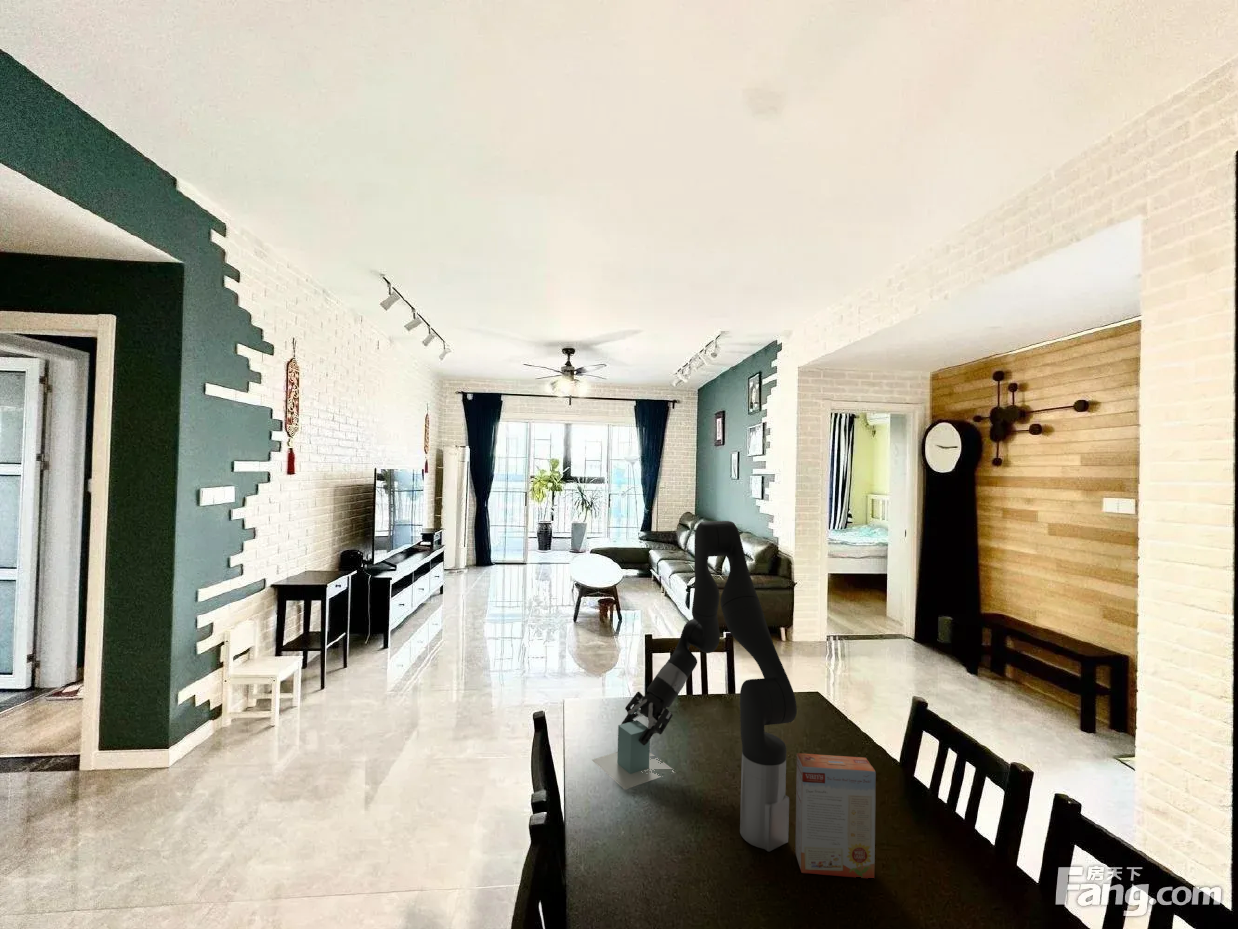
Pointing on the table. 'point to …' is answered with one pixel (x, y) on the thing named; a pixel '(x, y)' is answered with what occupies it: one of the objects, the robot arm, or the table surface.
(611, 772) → the card
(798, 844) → the cracker box
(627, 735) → the teal block
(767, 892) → the table surface
